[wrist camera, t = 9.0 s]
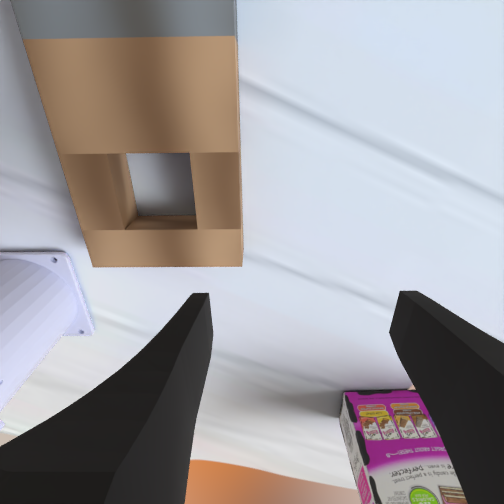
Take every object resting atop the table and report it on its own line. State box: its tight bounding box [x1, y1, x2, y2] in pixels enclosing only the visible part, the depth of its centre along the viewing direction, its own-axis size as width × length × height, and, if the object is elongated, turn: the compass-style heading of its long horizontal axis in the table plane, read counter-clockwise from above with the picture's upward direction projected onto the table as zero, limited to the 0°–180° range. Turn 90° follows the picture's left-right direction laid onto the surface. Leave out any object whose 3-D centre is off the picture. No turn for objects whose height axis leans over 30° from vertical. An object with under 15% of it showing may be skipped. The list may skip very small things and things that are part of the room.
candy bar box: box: [339, 390, 467, 504], centre depth 23 cm, size 11×5×16 cm, turn 93°
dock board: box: [10, 0, 244, 267], centre depth 16 cm, size 10×22×2 cm, turn 1°
